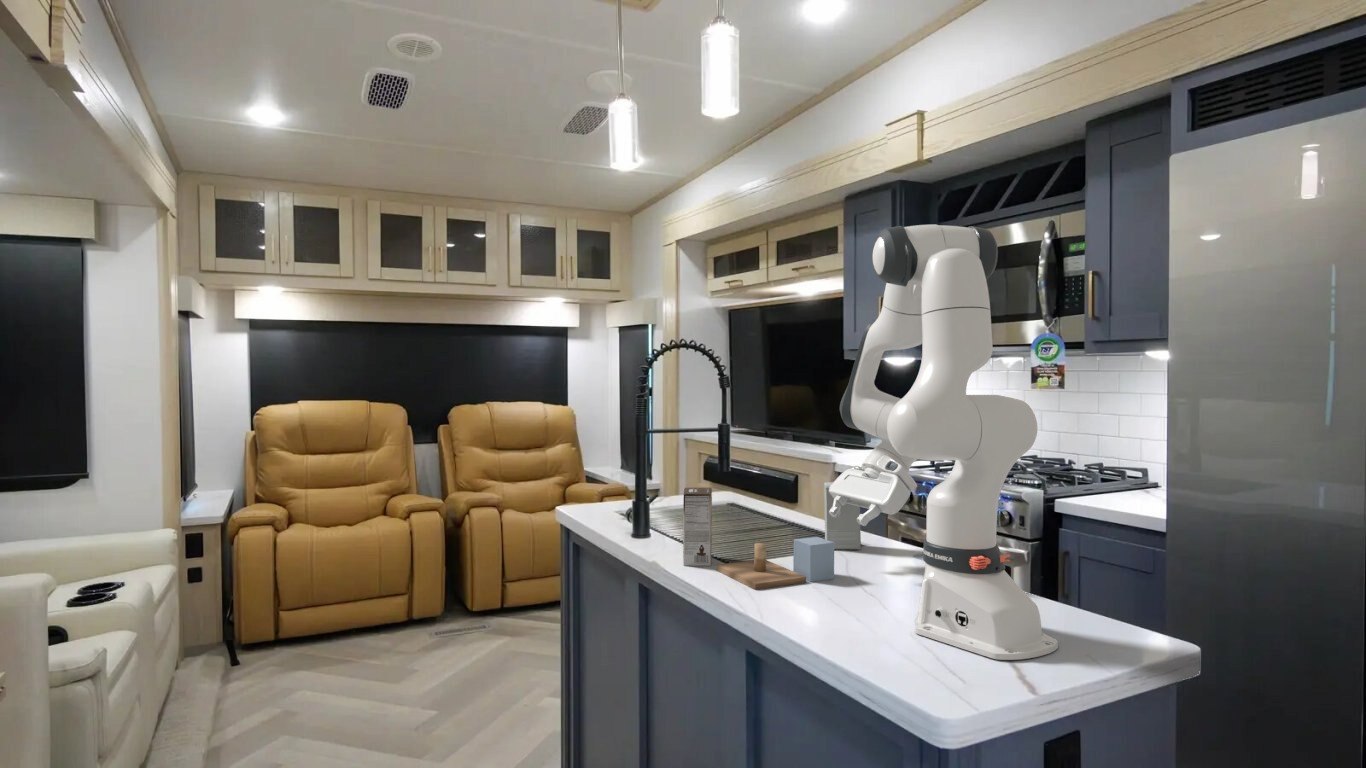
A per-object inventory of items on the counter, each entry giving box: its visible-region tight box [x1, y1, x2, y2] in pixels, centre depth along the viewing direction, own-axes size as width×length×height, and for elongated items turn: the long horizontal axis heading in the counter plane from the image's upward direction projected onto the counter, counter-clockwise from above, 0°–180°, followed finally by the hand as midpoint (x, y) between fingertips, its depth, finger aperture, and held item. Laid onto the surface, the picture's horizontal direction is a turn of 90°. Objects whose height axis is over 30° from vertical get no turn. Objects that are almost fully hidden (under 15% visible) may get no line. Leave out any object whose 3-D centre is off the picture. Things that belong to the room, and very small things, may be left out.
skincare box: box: [823, 481, 862, 551], centre depth 184 cm, size 8×7×16 cm
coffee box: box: [682, 487, 713, 567], centre depth 171 cm, size 9×6×16 cm
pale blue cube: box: [792, 536, 835, 583], centre depth 158 cm, size 6×6×8 cm
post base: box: [716, 542, 807, 590], centre depth 158 cm, size 16×12×7 cm
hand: (846, 519), depth 161 cm, fingers open, 8 cm apart
